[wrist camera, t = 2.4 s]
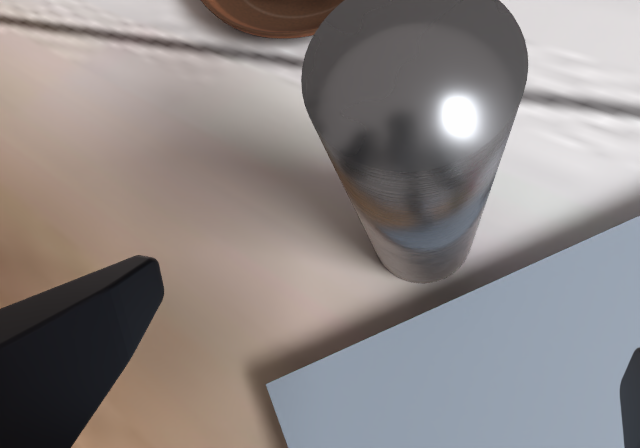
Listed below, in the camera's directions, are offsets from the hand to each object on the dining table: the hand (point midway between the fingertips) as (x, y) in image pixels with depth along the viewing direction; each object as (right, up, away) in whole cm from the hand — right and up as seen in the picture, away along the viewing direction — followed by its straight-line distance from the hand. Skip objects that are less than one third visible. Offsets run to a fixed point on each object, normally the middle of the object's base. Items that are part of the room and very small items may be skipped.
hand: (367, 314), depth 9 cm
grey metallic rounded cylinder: (+3, +1, +11) cm, 12 cm away
